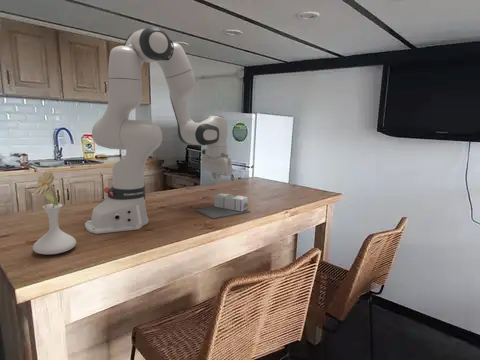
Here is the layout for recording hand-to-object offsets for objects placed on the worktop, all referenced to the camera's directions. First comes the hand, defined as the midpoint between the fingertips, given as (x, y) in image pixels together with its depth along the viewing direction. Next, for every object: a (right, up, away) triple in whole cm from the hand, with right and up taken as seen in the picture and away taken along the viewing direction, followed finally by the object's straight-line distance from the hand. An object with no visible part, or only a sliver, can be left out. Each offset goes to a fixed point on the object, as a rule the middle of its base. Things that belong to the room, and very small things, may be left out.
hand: (215, 182), depth 146 cm
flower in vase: (-44, -20, -50) cm, 70 cm away
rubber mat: (+3, -13, -3) cm, 14 cm away
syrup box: (0, -8, +4) cm, 9 cm away
